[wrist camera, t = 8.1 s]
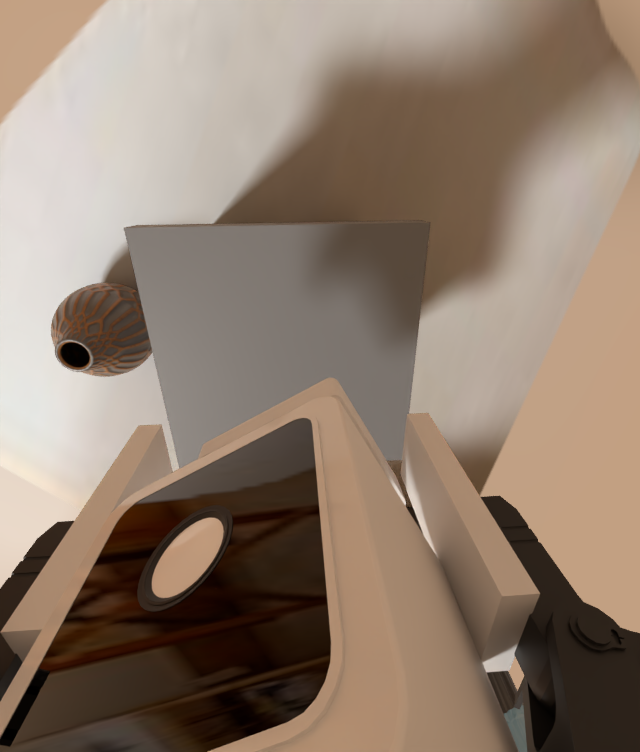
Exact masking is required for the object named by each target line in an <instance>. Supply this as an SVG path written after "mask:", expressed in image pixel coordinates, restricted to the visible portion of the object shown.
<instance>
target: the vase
mask: <svg viewBox="0 0 640 752" xmlns="http://www.w3.org/2000/svg"><path fill="white" fill-rule="evenodd" d="M51 336H52V340H53V344H54V346H55V355H56V358H57V360H58V361H59V362H60V363H61V364H62V365H63V366H64V367H65V368H67V369H69V370H72V371H76V372H83V373H86V374H89V375H94V376H103V377H105V376H115V375H120V374H123V373H126V372H129V371H131V370H133V369H135V368H137V367H138V366H140V365H141V364H142V363H143V362H144V361H146V360H147V359H148V357H149V356H150V355H151V354H152V347H151V343H150V339H149V334H148V330H147V326H146V321H145V317H144V313H143V308H142V304H141V300H140V295H139V292H138V291H136V290H134V289H132V288H130V287H128V286H125V285H121V284H116V283H97V284H92V285H89V286H86V287H83V288H81V289H78V290H77V291H75V292H73V293H72V294H70V295H69V296H68V297H67V298H66V299H64V301H63V302H62V303H61V304H60V305H59V307H58V309H57V310H56V312H55V314H54V317H53V320H52V324H51Z"/></svg>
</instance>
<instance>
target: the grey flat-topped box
mask: <svg viewBox="0 0 640 752" xmlns="http://www.w3.org/2000/svg"><path fill="white" fill-rule="evenodd" d="M429 230H430V222H426V221H421V220H413V221H356V222H298V223H241V224H183V225H136V226H131V227H126V228H124V231H125V235H126V239H127V243H128V248H129V252H130V256H131V261H132V265H133V269H134V274H135V278H136V282H137V287H138V291H139V295H140V300H141V304H142V308H143V313H144V317H145V321H146V326H147V330H148V334H149V339H150V343H151V347H152V352H153V356H154V360H155V365H156V369H157V373H158V378H159V382H160V386H161V391H162V395H163V399H164V403H165V408H166V412H167V416H168V421H169V425H170V429H171V434H172V438H173V442H174V447H175V451H176V455H177V460H178V464H179V468H182V467H184V466H186V465H187V464H189V463H191V462H193V461H195V460H197V459H198V457H199V454H200V452H201V449H202V446H203V444H205V443H206V442H208V441H210V440H212V439H213V438H215V437H217V436H219V435H221V434H223V433H225V432H227V431H229V430H230V429H232V428H234V427H236V426H238V425H240V424H242V423H244V422H245V421H247V420H249V419H251V418H253V417H255V416H257V415H259V414H261V413H262V412H264V411H266V410H268V409H270V408H272V407H274V406H276V405H278V404H279V403H281V402H283V401H285V400H287V399H289V398H291V397H293V396H294V395H296V394H298V393H300V392H302V391H304V390H306V389H308V388H310V387H311V386H313V385H315V384H317V383H319V382H321V381H323V380H325V379H327V378H335V379H336V380H337V381H338V382H339V384H340V385H341V387H342V388H343V390H344V392H345V393H346V395H347V397H348V398H349V400H350V402H351V403H352V405H353V407H354V408H355V410H356V411H357V413H358V415H359V416H360V418H361V420H362V421H363V423H364V425H365V426H366V428H367V430H368V431H369V433H370V434H371V436H372V438H373V439H374V441H375V443H376V444H377V446H378V448H379V449H380V451H381V452H382V454H383V456H384V457H385V459H386V461H390V460H402V455H403V447H404V438H405V429H406V420H407V414H409V409H410V400H411V391H412V382H413V373H414V364H415V355H416V346H417V337H418V328H419V319H420V311H421V302H422V293H423V284H424V275H425V266H426V257H427V248H428V239H429Z"/></svg>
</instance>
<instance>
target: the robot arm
mask: <svg viewBox="0 0 640 752" xmlns="http://www.w3.org/2000/svg"><path fill="white" fill-rule="evenodd" d="M172 472H173V471H172V467H171V463H170V458H169V454H168V450H167V446H166V442H165V437H164V433H163V429H162V425H140V426H138V427H137V429H136V430H135V432H134V433H133V435H132V436H131V438H130V439H129V441H128V442H127V444H126V445H125V447H124V448H123V450H122V451H121V453H120V454H119V456H118V457H117V459H116V460H115V461H114V463H113V464H112V466H111V467H110V469H109V470H108V472H107V473H106V475H105V476H104V478H103V479H102V481H101V482H100V484H99V485H98V487H97V488H96V490H95V491H94V493H93V494H92V496H91V497H90V499H89V500H88V502H87V503H86V505H85V506H84V508H83V509H82V511H81V512H80V514H79V515H78V517H77V518H76V520H75V521H65V522H57V523H56V524H55V525H53V526H52V527H51V528H50V529H49V530H47V531H46V532H45V533H44V534H43V535H41V536H40V537H39V538H38V539H37V540H36V541H35V543H34V544H33V545H32V547H31V548H30V549H29V551H28V552H27V554H26V555H25V556H24V560H23V561H21V562H20V563H19V564H18V566H17V567H16V568H15V570H14V571H13V572H12V576H11V578H8V579H7V580H6V582H5V583H4V585H3V586H2V587H1V589H0V701H1V700H2V698H3V696H4V694H5V693H6V691H7V689H8V687H9V686H10V684H11V682H12V681H13V679H14V677H15V675H16V674H17V672H18V670H19V668H20V667H21V665H22V663H23V662H24V660H25V658H26V656H27V655H28V653H29V651H30V650H31V648H32V646H33V644H34V643H35V641H36V639H37V637H38V636H39V634H40V632H41V631H42V629H43V627H44V625H45V624H46V622H47V620H48V618H49V617H50V615H51V613H52V612H53V610H54V608H55V606H56V605H57V603H58V601H59V600H60V598H61V596H62V594H63V593H64V591H65V589H66V587H67V586H68V584H69V582H70V581H71V579H72V577H73V575H74V574H75V572H76V570H77V568H78V567H79V565H80V563H81V562H82V560H83V558H84V556H85V555H86V553H87V551H88V550H89V548H90V546H91V544H92V543H93V541H94V539H95V537H96V536H97V534H98V532H99V531H100V529H101V527H102V526H103V524H104V523H105V521H106V520H107V518H108V517H109V516H110V514H111V513H112V512H113V511H114V510H115V509H116V508H117V507H118V506H119V505H120V504H121V503H122V502H123V501H124V500H125V499H127V498H128V497H129V496H130V495H132V494H133V493H135V492H137V491H138V490H140V489H142V488H144V487H145V486H147V485H149V484H151V483H153V482H155V481H157V480H159V479H161V478H163V477H165V476H166V475H168V474H170V473H172ZM400 475H401V477H402V480H403V483H404V485H405V488H406V490H407V493H408V496H409V498H410V501H411V503H412V506H413V508H407V510H408V511H409V513H410V514H411V516H412V518H413V519H414V521H415V522H416V524H417V526H418V527H419V529H420V530H421V532H422V534H423V535H424V537H425V538H426V540H427V542H428V543H429V545H430V546H431V548H432V550H433V551H434V553H435V554H436V556H437V558H438V559H439V561H440V563H441V564H442V566H443V568H444V571H445V573H446V575H447V578H448V580H449V583H450V585H451V588H452V590H453V593H454V595H455V598H456V600H457V602H458V605H459V607H460V610H461V612H462V615H463V617H464V620H465V622H466V624H467V627H468V629H469V632H470V634H471V637H472V639H473V642H474V644H475V647H476V649H477V651H478V654H479V656H480V659H481V661H482V663H483V665H484V668H485V670H486V673H487V675H488V677H489V680H490V682H491V685H492V687H493V690H494V692H495V695H496V697H497V699H498V702H499V704H500V707H501V709H502V712H503V714H504V717H505V719H506V721H507V724H508V726H509V729H510V731H511V734H512V736H513V739H514V741H515V743H516V746H517V748H518V751H519V752H640V633H636V632H632V631H629V630H626V629H623V628H620V627H619V626H618V625H617V624H616V622H615V621H614V620H613V619H611V618H610V617H609V616H608V615H606V614H605V613H603V612H602V611H601V610H599V609H598V608H595V607H593V606H591V605H589V604H586V603H584V602H583V601H582V600H581V598H579V596H578V595H577V594H576V592H575V591H574V589H573V588H572V587H571V585H570V584H569V582H568V581H567V579H566V578H565V577H564V576H563V574H562V573H561V571H560V570H559V568H558V567H557V565H556V564H555V563H554V561H553V560H552V558H551V557H550V556H549V554H548V553H547V551H546V550H545V549H544V547H543V546H542V544H541V543H539V542H538V539H537V537H536V536H535V535H534V533H533V532H532V530H531V529H529V528H528V525H527V523H526V522H525V520H524V519H523V518H522V516H521V515H520V513H519V512H518V511H517V509H516V508H514V507H513V506H512V505H511V504H509V503H508V502H506V500H504V499H503V498H502V497H501V496H489V497H480V496H479V494H478V492H477V491H476V489H475V488H474V486H473V484H472V483H471V481H470V480H469V478H468V476H467V475H466V473H465V471H464V470H463V468H462V467H461V465H460V463H459V462H458V460H457V459H456V457H455V455H454V454H453V452H452V450H451V449H450V447H449V446H448V444H447V442H446V441H445V439H444V438H443V436H442V434H441V433H440V431H439V429H438V428H437V426H436V425H435V423H434V421H433V420H432V418H431V417H430V415H429V413H418V414H407V420H406V429H405V438H404V447H403V455H402V464H401V473H400ZM515 656H516V659H517V661H518V663H519V665H520V667H521V669H522V671H523V673H524V675H525V676H524V678H523V680H522V683H521V685H520V687H519V689H518V691H517V689H516V687H515V685H514V683H513V681H512V678H511V676H510V674H509V672H508V671H509V670H510V667H511V665H512V662H513V660H514V658H515Z"/></svg>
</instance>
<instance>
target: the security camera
mask: <svg viewBox="0 0 640 752" xmlns="http://www.w3.org/2000/svg"><path fill="white" fill-rule="evenodd" d="M405 505H406V501H405V498H404V496H403V493H402V490H401V488H400V485H399V482H398V480H397V477H396V475H395V474H394V472H393V471H392V469H391V467H390V466H389V464H388V462H387V461H386V459H385V457H384V456H383V454H382V452H381V451H380V449H379V448H378V446H377V444H376V443H375V441H374V439H373V438H372V436H371V434H370V433H369V431H368V430H367V428H366V426H365V425H364V423H363V421H362V420H361V418H360V416H359V415H358V413H357V411H356V410H355V408H354V407H353V405H352V403H351V402H350V400H349V398H348V397H347V395H346V393H345V392H344V390H343V388H342V387H341V385H340V384H339V382H338V381H337V380H336V379H335V378H327V379H325V380H323V381H321V382H319V383H317V384H315V385H313V386H311V387H310V388H308V389H306V390H304V391H302V392H300V393H298V394H296V395H294V396H293V397H291V398H289V399H287V400H285V401H283V402H281V403H279V404H278V405H276V406H274V407H272V408H270V409H268V410H266V411H264V412H262V413H261V414H259V415H257V416H255V417H253V418H251V419H249V420H247V421H245V422H244V423H242V424H240V425H238V426H236V427H234V428H232V429H230V430H229V431H227V432H225V433H223V434H221V435H219V436H217V437H215V438H213V439H212V440H210V441H208V442H206V443H205V444H203V446H202V449H201V452H200V454H199V457H198V459H197V460H195V461H193V462H191V463H189V464H187V465H186V466H184V467H182V468H180V469H178V470H176V471H174V472H172V473H170V474H168V475H166V476H165V477H163V478H161V479H159V480H157V481H155V482H153V483H151V484H149V485H147V486H145V487H144V488H142V489H140V490H138V491H137V492H135V493H133V494H132V495H130V496H129V497H128V498H127V499H125V500H124V501H123V502H122V503H121V504H120V505H119V506H118V507H117V508H116V509H115V510H114V511H113V512H112V513H111V514H110V516H109V517H108V518H107V520H106V521H105V523H104V524H103V526H102V527H101V529H100V531H99V532H98V534H97V536H96V537H95V539H94V541H93V543H92V544H91V546H90V548H89V550H88V551H87V553H86V555H85V556H84V558H83V560H82V562H81V563H80V565H79V567H78V568H77V570H76V572H75V574H74V575H73V577H72V579H71V581H70V582H69V584H68V586H67V587H66V589H65V591H64V593H63V594H62V596H61V598H60V600H59V601H58V603H57V605H56V606H55V608H54V610H53V612H52V613H51V615H50V617H49V618H48V620H47V622H46V624H45V625H44V627H43V629H42V631H41V632H40V634H39V636H38V637H37V639H36V641H35V643H34V644H33V646H32V648H31V650H30V651H29V653H28V655H27V656H26V658H25V660H24V662H23V663H22V665H21V667H20V668H19V670H18V672H17V674H16V675H15V677H14V679H13V681H12V682H11V684H10V686H9V687H8V689H7V691H6V693H5V694H4V696H3V698H2V700H1V701H0V752H519V751H518V748H517V746H516V743H515V741H514V739H513V736H512V734H511V731H510V729H509V726H508V724H507V721H506V719H505V717H504V714H503V712H502V709H501V707H500V704H499V702H498V699H497V697H496V695H495V692H494V690H493V687H492V685H491V682H490V680H489V677H488V675H487V673H486V670H485V668H484V665H483V663H482V661H481V659H480V656H479V654H478V651H477V649H476V647H475V644H474V642H473V639H472V637H471V634H470V632H469V629H468V627H467V624H466V622H465V620H464V617H463V615H462V612H461V610H460V607H459V605H458V602H457V600H456V598H455V595H454V593H453V590H452V588H451V585H450V583H449V580H448V578H447V575H446V573H445V571H444V568H443V566H442V564H441V563H440V561H439V559H438V558H437V556H436V554H435V553H434V551H433V550H432V548H431V546H430V545H429V543H428V542H427V540H426V538H425V537H424V535H423V534H422V532H421V530H420V529H419V527H418V526H417V524H416V522H415V521H414V519H413V518H412V516H411V514H410V513H409V511H408V510H407V508H406V506H405Z"/></svg>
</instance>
